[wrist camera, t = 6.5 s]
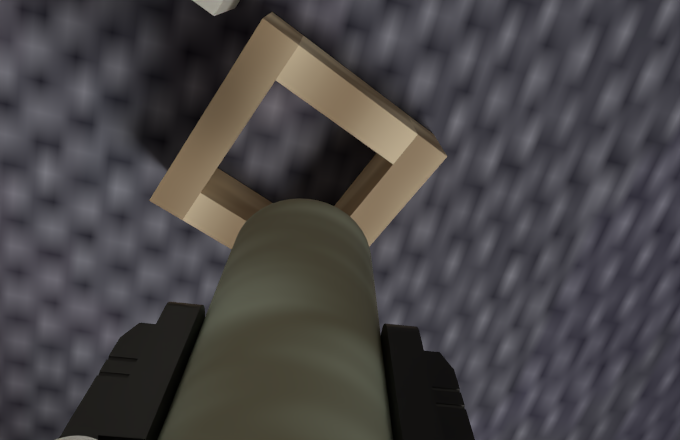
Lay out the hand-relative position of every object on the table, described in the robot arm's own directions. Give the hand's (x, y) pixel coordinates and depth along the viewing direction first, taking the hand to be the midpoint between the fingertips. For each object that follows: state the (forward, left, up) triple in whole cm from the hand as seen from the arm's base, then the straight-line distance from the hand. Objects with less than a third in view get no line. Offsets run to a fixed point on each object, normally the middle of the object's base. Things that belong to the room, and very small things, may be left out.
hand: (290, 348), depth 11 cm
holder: (+1, 0, -13) cm, 13 cm away
